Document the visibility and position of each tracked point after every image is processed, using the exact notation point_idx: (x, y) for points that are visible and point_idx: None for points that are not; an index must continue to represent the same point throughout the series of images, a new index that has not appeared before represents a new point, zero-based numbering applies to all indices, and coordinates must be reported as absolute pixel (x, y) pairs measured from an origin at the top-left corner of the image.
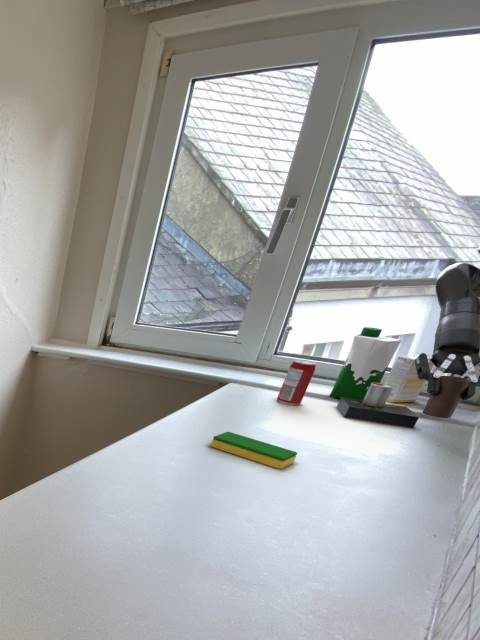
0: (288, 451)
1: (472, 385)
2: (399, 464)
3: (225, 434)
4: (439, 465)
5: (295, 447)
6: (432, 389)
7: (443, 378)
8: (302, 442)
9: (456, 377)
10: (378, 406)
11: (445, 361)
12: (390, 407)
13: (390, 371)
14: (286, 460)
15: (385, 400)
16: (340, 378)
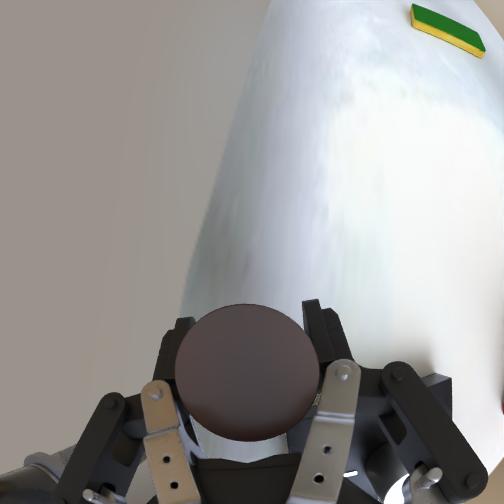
0: (421, 16)
1: (167, 362)
2: (321, 74)
3: (479, 40)
4: (264, 109)
5: (438, 70)
6: (327, 312)
7: (309, 341)
8: (444, 94)
9: (235, 417)
10: (383, 445)
11: (335, 480)
12: (348, 472)
13: None
14: (412, 9)
15: (378, 463)
16: None
